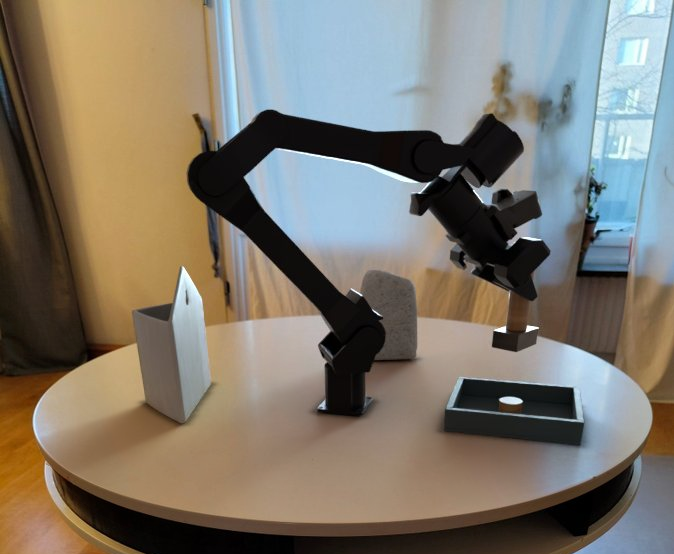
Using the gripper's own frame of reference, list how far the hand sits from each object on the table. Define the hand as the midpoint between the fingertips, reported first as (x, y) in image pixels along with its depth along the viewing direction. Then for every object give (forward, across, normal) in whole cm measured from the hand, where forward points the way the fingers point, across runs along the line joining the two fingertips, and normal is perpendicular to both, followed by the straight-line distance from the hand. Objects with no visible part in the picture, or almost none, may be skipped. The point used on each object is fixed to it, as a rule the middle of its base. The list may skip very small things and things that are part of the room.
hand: (528, 296), depth 87 cm
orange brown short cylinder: (+5, -10, +14) cm, 18 cm away
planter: (-26, +8, +46) cm, 54 cm away
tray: (+6, -10, +14) cm, 18 cm away
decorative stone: (0, +21, +20) cm, 29 cm away
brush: (+4, 0, +6) cm, 7 cm away
